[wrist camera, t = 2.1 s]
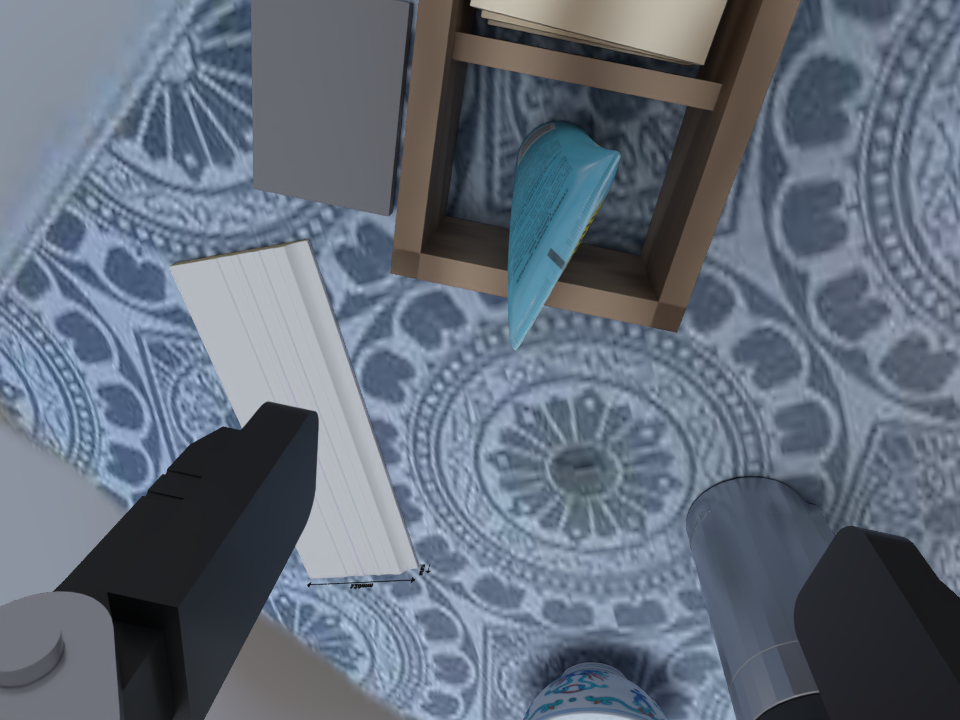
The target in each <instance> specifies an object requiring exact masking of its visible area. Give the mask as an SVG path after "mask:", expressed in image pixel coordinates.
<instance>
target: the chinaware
mask: <svg viewBox="0 0 960 720" xmlns="http://www.w3.org/2000/svg"><path fill="white" fill-rule="evenodd" d="M523 720H668V719H667V717H666V716H665V714H664V713H663V711H662V710H661V708H660V707H659V706H658V705H657V703H656V702H655V701H654V700H653V699H652V698H651V697H650V696H649V695H648V694H647V693H646V692H645V691H644V690H642V689H641V688H640V687H638V686H637V685H636V684H634V683H633V682H631V681H629V680H627V679H626V677H625V676H624V675H623V674H622V673H621V672H620V671H619V670H617V669H616V668H614V667H612V666H610V665H607V664H603V663H597V662H586V663H580V664H576V665H574V666H571V667H570V668H568V669H567V670H566V671H565V672H564V673H563V674H562V676H561V677H560V678H558V679H557V680H555V681H553V682H552V683H550V684H549V685H548V686H547V687H546V688H544V689H543V690H542V691H541V692H540V693H539V695H538V696H537V697H536V698H535V700H534V701H533V702H532V704H531V705H530V707H529V709H528V711H527V712H526V714H525V717H524V719H523Z"/></svg>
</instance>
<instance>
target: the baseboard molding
mask: <svg viewBox="0 0 960 720" xmlns="http://www.w3.org/2000/svg"><path fill="white" fill-rule="evenodd" d="M169 268H170V270H171V273H172V275H173V277H174V279H175V281H176V284H177V286H178V288H179V290H180V293H181V295H182V297H183V299H184V301H185V304H186V306H187V308H188V310H189V312H190V315H191V317H192V319H193V321H194V323H195V326H196V328H197V330H198V332H199V334H200V337H201V339H202V341H203V343H204V345H205V348H206V350H207V352H208V354H209V356H210V359H211V361H212V363H213V365H214V367H215V370H216V372H217V374H218V376H219V378H220V381H221V383H222V385H223V387H224V389H225V392H226V394H227V396H228V398H229V401H230V403H231V405H232V407H233V409H234V412H235V414H236V416H237V418H238V420H239V423H240V425H241V427H242V428H243V427H244V426H245V424H246V423H247V422H248V421H249V420H250V418H251V417H252V416H253V415H254V414H255V412H256V411H257V410H258V409H259V408H260V406H261V405H262V404H263V403H265V402H267V401H269V402H274V403H279V404H284V405H289V406H293V407H298V408H303V409H307V410H312V411H316V412H317V414H318V417H319V431H318V452H317V473H316V491H315V497H314V502H313V506H312V510H311V513H310V516H309V519H308V522H307V524H306V526H305V528H304V530H303V532H302V534H301V536H300V538H299V540H298V542H297V544H296V548H297V550H298V553H299V555H300V557H301V559H302V561H303V564H304V566H305V568H306V570H307V572H308V575H309V577H310V579H312V578H332V577H348V576H365V575H382V574H402V573H403V572H404V571H406V570H408V569H416V568H418V567H419V563H418V560H417V557H416V554H415V551H414V548H413V545H412V542H411V539H410V536H409V533H408V530H407V527H406V524H405V521H404V518H403V516H402V513H401V510H400V507H399V504H398V501H397V498H396V495H395V492H394V489H393V486H392V483H391V480H390V477H389V474H388V471H387V468H386V465H385V462H384V459H383V456H382V453H381V450H380V447H379V444H378V441H377V438H376V435H375V432H374V429H373V426H372V424H371V421H370V418H369V415H368V412H367V409H366V406H365V403H364V400H363V397H362V394H361V391H360V388H359V385H358V382H357V379H356V376H355V373H354V370H353V367H352V364H351V361H350V358H349V355H348V352H347V349H346V346H345V343H344V340H343V337H342V334H341V332H340V329H339V326H338V323H337V320H336V317H335V314H334V311H333V308H332V305H331V302H330V299H329V296H328V293H327V290H326V287H325V284H324V281H323V278H322V275H321V272H320V269H319V266H318V263H317V260H316V257H315V254H314V251H313V248H312V245H311V242H310V239H306V240H301V241H295V242H289V243H284V244H278V245H273V246H267V247H261V248H256V249H250V250H245V251H239V252H233V253H228V254H222V255H217V256H211V257H205V258H200V259H194V260H189V261H183V262H177V263H175V264H173V265H171V266H169ZM422 567H425V565H421V569H420V570H424V568H422ZM429 567H430V564H429ZM423 572H424V571H420V574H419V575H423ZM426 572H427V573H429V572H430V571H429V568H428V571H426ZM394 581H411V583H412V582H413V581H415V579H414V578H413V577H412V580H394ZM373 582H390V581H373ZM352 583H368V582H352ZM330 584H347V583H330ZM310 585H325V584H311V583H309V584H308V585H307V586H308V587H310ZM363 585H364V586H363ZM365 585H366V586H365ZM353 586H354V584H351V587H350V588H351V589H352V588H353ZM355 586H356V587H354V589H356V588H357V586H358V589H359V588H361V587H372V586H373V583H372V585H371V584H370V585H369V584H362V585H361V584H359V585H358V584H355ZM359 586H360V587H359Z"/></svg>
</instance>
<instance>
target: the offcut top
mask: <svg viewBox="0 0 960 720" xmlns="http://www.w3.org/2000/svg"><path fill="white" fill-rule="evenodd" d="M726 2H727V0H471V3H470V6H472V7H474V8H476V9H480V10H484V11H488V12H492V13H496V14H500V15H504V16H508V17H512V18H515V19H519V20H523V21H527V22H531V23H535V24H539V25H543V26H547V27H551V28H555V29H559V30H562V31H566V32H570V33H574V34H578V35H582V36H586V37H590V38H594V39H598V40H602V41H606V42H609V43H613V44H617V45H621V46H625V47H629V48H633V49H637V50H641V51H645V52H649V53H653V54H657V55H660V56H664V57H668V58H672V59H676V60H680V61H684V62H688V63H692V64H699V65H704V63H705V60H706V57H707V54H708V52H709V49H710V46H711V43H712V41H713V38H714V35H715V32H716V30H717V27H718V24H719V21H720V19H721V16H722V13H723V11H724V8H725V5H726Z"/></svg>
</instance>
